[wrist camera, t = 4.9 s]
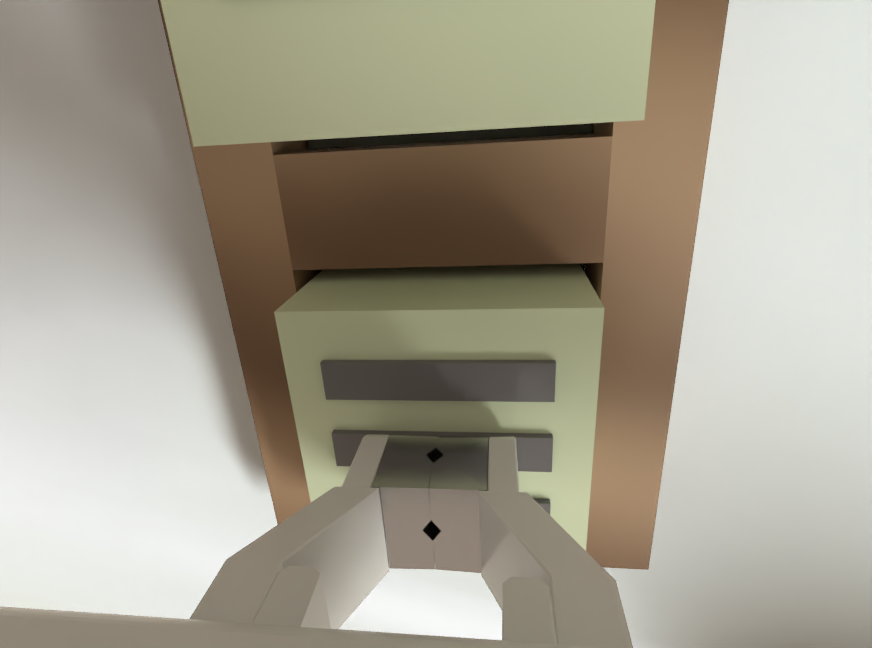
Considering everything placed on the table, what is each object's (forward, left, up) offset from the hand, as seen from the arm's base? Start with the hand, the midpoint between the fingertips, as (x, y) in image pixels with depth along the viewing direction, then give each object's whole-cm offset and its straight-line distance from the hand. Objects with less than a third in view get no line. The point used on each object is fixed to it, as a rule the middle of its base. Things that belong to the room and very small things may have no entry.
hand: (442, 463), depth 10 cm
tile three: (0, 0, -3) cm, 3 cm away
